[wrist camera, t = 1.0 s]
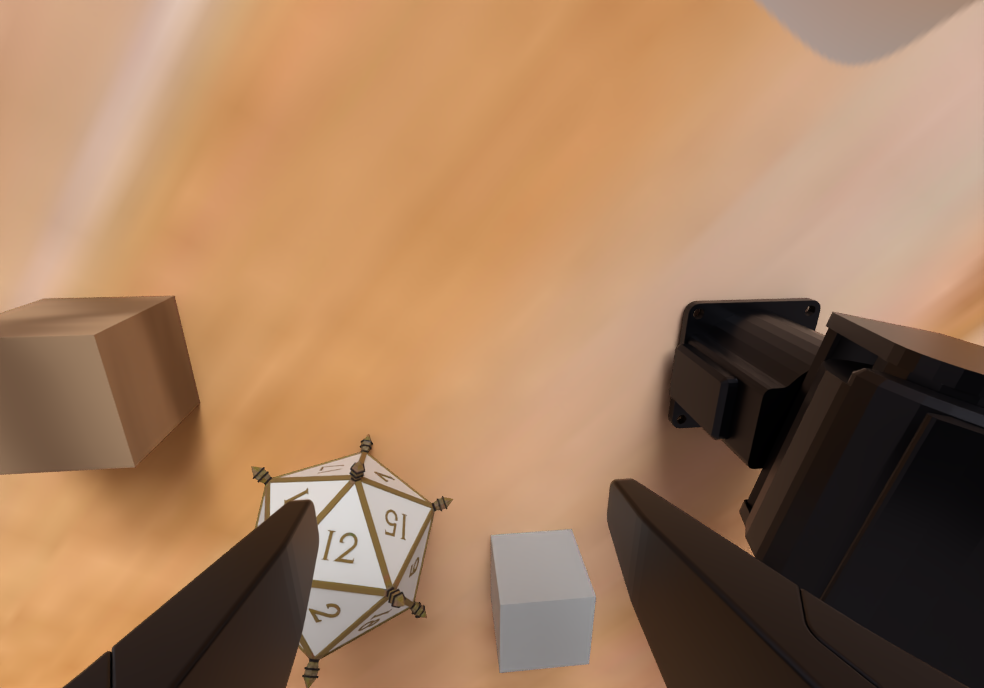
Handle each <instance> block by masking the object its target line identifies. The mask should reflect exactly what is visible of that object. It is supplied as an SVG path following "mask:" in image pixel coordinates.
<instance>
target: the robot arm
mask: <svg viewBox="0 0 984 688" xmlns="http://www.w3.org/2000/svg"><path fill="white" fill-rule="evenodd" d="M808 306H809V310H808V311H807V312H806V313H805V310H806V308H807V307H808ZM697 309H700V312H699V314H698V315H697V316H694V315H693V314H694V311H695V310H697ZM819 313H820V304H819V303H818V302H817V301H815V300H812V299H809V298H792V299H755V300H717V301H694V302H691V303H690V304H688V305H687V307H686V308H685V311H684V316H683V323H682V329H681V336H680V343H679V345H678V347H677V348H676V350H675V356H674V363H673V370H672V377H671V383H670V390H669V395H670V396H671V402H670V409H669V415H668V417H669V421H670V422H671V423H672V424H673V426H675V427H676V428H693V427H702V428H703V429H704V430H705V431H706V432H707V433H708V434H709V435H710V436H711V437H712V438H713V439H715V440H722V441H723V442H724V443H725V444H726V445H727V446H728V447H729V448H730V449H731V450H732V451H733V452H734V453H735V454H736V455H737V456H738V457H739V458H740V459H741V460H742V461H743V462H744V463H745V464H746V465H747V466H748V467H749V468H752V469H760V468H763V469H762V471H761V473H760V475H759V477H758V479H757V481H756V484H755V486H754V488H753V490H752V492H751V494H750V496H749V498H748V499H747V500H744V502H743V504H742V506H741V509H740V515H741V517H742V520H743V522H744V524H745V527H746V531H745V537H746V539H747V541H748V543H749V546H750V548H751V550H752V552H753V554H754V556H755V557H753V556H752V555H750V554H749V553H747V552H745V551H744V550H742V549H741V548H739V547H738V546H736V545H735V544H733V543H731V542H730V541H728V540H727V539H725V538H724V537H722V536H721V535H719V534H718V533H716V532H714V531H713V530H711V529H710V528H708V527H707V526H705V525H704V524H702V523H701V522H699V521H697V520H696V519H694V518H693V517H691V516H690V515H688V514H687V513H685V512H684V511H682V510H680V509H679V508H677V507H676V506H674V505H673V504H671V503H670V502H668V501H667V500H665V499H663V498H662V497H660V496H659V495H657V494H656V493H654V492H653V491H651V490H650V489H648V488H646V487H645V486H643V485H642V484H640V483H639V482H637V481H636V480H634V479H615V480H613V481H612V482H611V484H610V490H609V499H608V509H607V522H608V527H609V530H610V533H611V537H612V540H613V544H614V547H615V550H616V554H617V557H618V560H619V564H620V567H621V570H622V574H623V577H624V580H625V584H626V587H627V590H628V593H629V596H630V599H631V602H632V605H633V607H634V610H635V613H636V615H637V617H638V620H639V622H640V625H641V627H642V629H643V632H644V634H645V636H646V639H647V641H648V644H649V646H650V648H651V651H652V653H653V656H654V658H655V660H656V663H657V665H658V667H659V670H660V672H661V675H662V677H663V679H664V682H665V684H666V686H667V688H984V347H983V346H980V345H976V344H973V343H970V342H967V341H963V340H960V339H957V338H953V337H950V336H947V335H943V334H940V333H935V332H931V331H926V330H921V329H916V328H911V327H906V326H901V325H896V324H891V323H886V322H881V321H876V320H871V319H866V318H861V317H857V316H852V315H847V314H842V313H837V312H832V314H831V316H830V318H829V320H828V323H827V325H826V326H827V327H828V331H827V333H826V335H823V334H821V333H818V332H816V331H815V329H816V325H817V321H818V317H819ZM680 415H683V416H682V418H681V419H679V420H677V418H678V417H679V416H680ZM318 549H319V531H318V525H317V518H316V512H315V506H314V503H313V501H311V500H310V499H305V500H291V501H288V502H287V503H285V504H284V505H283V506H282V507H281V508H279V509H278V510H277V511H276V512H275V513H273V514H272V515H271V516H270V517H269V518H267V519H266V520H265V521H264V522H262V523H261V524H260V525H259V526H258V527H256V528H255V529H254V530H253V531H252V532H250V533H249V534H248V535H247V536H246V537H244V538H243V539H242V540H241V541H240V542H238V543H237V544H236V545H235V546H234V547H232V548H231V549H230V550H229V551H228V552H226V553H225V554H224V555H223V556H221V557H220V558H219V559H218V560H217V561H215V562H214V563H213V564H212V565H211V566H209V567H208V568H207V569H206V570H205V571H203V572H202V573H201V574H200V575H199V576H197V577H196V578H195V579H194V580H193V581H191V582H190V583H189V584H188V585H187V586H185V587H184V588H183V589H182V590H180V591H179V592H178V593H177V594H176V595H174V596H173V597H172V598H171V599H170V600H168V601H167V602H166V603H165V604H164V605H162V606H161V607H160V608H159V609H158V610H156V611H155V612H154V613H153V614H152V615H150V616H149V617H148V618H147V619H146V620H144V621H143V622H142V623H141V624H139V625H138V626H137V627H136V628H135V629H133V630H132V631H131V632H130V633H129V634H127V635H126V636H125V637H124V638H123V639H121V640H120V641H119V642H118V643H117V644H115V645H114V646H113V647H112V652H110V651H107V652H106V653H104V654H103V655H102V656H101V657H99V658H98V659H97V660H96V661H95V662H93V663H92V664H91V665H90V666H89V667H87V668H86V669H85V670H84V671H83V672H81V673H80V674H79V675H78V676H76V677H75V678H74V679H73V680H71V681H70V682H69V683H68V684H66V685H65V686H64V687H63V688H286V686H287V682H288V679H289V676H290V672H291V669H292V666H293V663H294V659H295V656H296V653H297V649H298V646H299V643H300V639H301V635H302V632H303V627H304V622H305V618H306V612H307V607H308V602H309V597H310V591H311V586H312V581H313V575H314V570H315V565H316V559H317V554H318Z"/></svg>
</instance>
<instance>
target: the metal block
mask: <svg viewBox="0 0 984 688" xmlns="http://www.w3.org/2000/svg"><path fill="white" fill-rule="evenodd" d="M199 404H200V400H199V396H198V392H197V388H196V383H195V379H194V375H193V371H192V367H191V363H190V359H189V354H188V350H187V346H186V342H185V338H184V334H183V329H182V325H181V321H180V317H179V313H178V309H177V305H176V300H175V296H141V297H97V298H53V299H42V300H39V301H36V302H33V303H30V304H27V305H24V306H21V307H18V308H15V309H12V310H9V311H6V312H3V313H0V475H4V474H22V473H40V472H59V471H77V470H95V469H113V468H131V467H136V466H137V465H138V464H139V463H140V462H141V461H142V460H143V459H144V458H145V457H146V456H147V455H148V454H149V453H150V452H151V451H152V450H153V449H154V448H155V447H156V446H157V445H158V444H159V443H160V442H161V441H162V440H163V439H164V438H165V437H166V436H167V435H168V434H169V433H170V432H171V431H172V430H173V429H174V428H175V427H176V426H177V425H178V424H179V423H180V422H181V421H182V420H183V419H184V418H185V417H186V416H187V415H189V414H190V413H191V412H192V411H193V410H194V409H195V408H196V407H197V406H198V405H199Z"/></svg>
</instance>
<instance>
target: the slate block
mask: <svg viewBox="0 0 984 688" xmlns="http://www.w3.org/2000/svg"><path fill="white" fill-rule="evenodd" d="M595 602H596V595H595V592H594V590H593V587H592V584H591V581H590V579H589V576H588V573H587V570H586V568H585V565H584V562H583V559H582V556H581V554H580V551H579V548H578V545H577V543H576V540H575V537H574V534H573V531H572V529H567V530H554V531H540V532H526V533H512V534H499V535H491V603H492V612H493V620H494V629H495V637H496V646H497V655H498V663H499V672H500V673H504V672H514V671H524V670H534V669H544V668H554V667H564V666H574V665H584V664H589V658H590V649H591V640H592V630H593V621H594V611H595Z"/></svg>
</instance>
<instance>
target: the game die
mask: <svg viewBox="0 0 984 688" xmlns="http://www.w3.org/2000/svg"><path fill="white" fill-rule="evenodd" d="M361 443H362V444H361V446H360V448H361V452H359V453H355V454H352V455H349V456H345V457H342V458H338V459H335V460H331V461H328V462H325V463H321V464H318V465H314V466H311V467H308V468H304V469H301V470H297V471H294V472H291V473H287V474H284V475H280V476H277V477H274V478H272V477H270V475H269V474H268V473H269V472H268V471H266V470H265V469H264V467H263V468H259V467H252V466H251V467H252V472H253V476H254V477H253V479H254V478H255V479H257V480H258V481H257V482H258V483H259V482H262V483H264V484H265V488H264V493H263V497H262V501H261V505H260V509H259V513H258V518H257V522H256V526H255V528H256V527H258V526H259V525H260V524H261V523H262V522H264V521H265V520H266V519H267V518H269V517H270V516H271V515H272V514H273V513H275V512H276V511H277V510H278V509H279V508H281V507H282V506H283V505H284V504H285V503H287V502H288V501H291V500H305V499H310V500H311V501H313V503H314V506H315V512H316V518H317V525H318V531H319V549H318V554H317V559H316V565H315V570H314V575H313V581H312V586H311V591H310V597H309V602H308V607H307V612H306V618H305V622H304V627H303V632H302V635H301V639H300V643H299V646H298V647H299V648H300V649H301V650H302V651H303V653H304V654H305V655H306V656H307V657H308V658H309V663H308V665H307V667H305V669H306V670H305V673H304V675H302V677H304V680H305V684H306V688H309V687H310V686H311V684H312V683H313V682H314V681H315V679H316V678H318V676H317V674H318V670H320V668H318V662H319V660H320V659H322V658H323V657H325V656H327V655H329V654H330V653H332V652H334V651H336V650H337V649H339V648H341V647H343V646H344V645H346V644H348V643H350V642H351V641H353V640H355V639H357V638H359V637H360V636H362V635H364V634H366V633H367V632H369V631H371V630H373V629H374V628H376V627H378V626H380V625H381V624H383V623H385V622H387V621H388V620H390V619H392V618H394V617H396V616H397V615H399V614H401V613H403V612H404V611H406V610H408V609H411V611H412V614H414V615H415V617H416V618H420V617H425V618H427V616H426V612H425V606H424V605H423V606H422V605H421V603H420V602H419V603H417V602H415V597H416V593H417V588H418V584H419V579H420V575H421V570H422V566H423V561H424V557H425V552H426V548H427V543H428V539H429V534H430V530H431V525H432V521H433V516H434V512H435V511H436V510H441V511H442V509H445V508H446V509H447V507H448V506H449V504H450V503H451V502H452V500H453V499H450V498H445V497H443V496H442V498H441V499H437V501H435V502H434V503H431V502H429V501H428V500H427V499H426V498H424V497H423V496H422V495H420V494H419V493H418V492H417V491H415V490H414V489H413V488H412V487H410V486H409V485H408V484H407V483H405V482H404V481H403V480H401V479H400V478H399V477H398V476H396V475H395V474H394V473H393V472H391V471H390V470H389V469H388V468H386V467H385V466H384V465H382V464H381V463H380V462H379V461H377V460H376V459H375V458H374V457H372V456H371V455H370V454H369V453H368V452H369V450H370V449H371V445H373V443H372V441H371V439H370V436H369V435H368V436H367V437H366V438H365V439H363V440H362V441H361Z"/></svg>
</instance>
